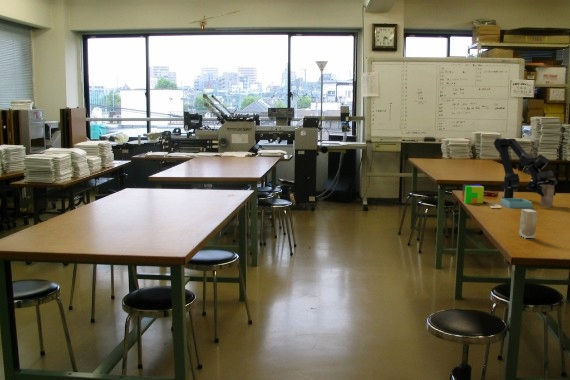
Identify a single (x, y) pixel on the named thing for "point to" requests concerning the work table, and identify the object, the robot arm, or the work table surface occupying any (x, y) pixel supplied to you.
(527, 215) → the skincare box
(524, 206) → the dish
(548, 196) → the block
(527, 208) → the mat
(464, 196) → the puzzle toy
